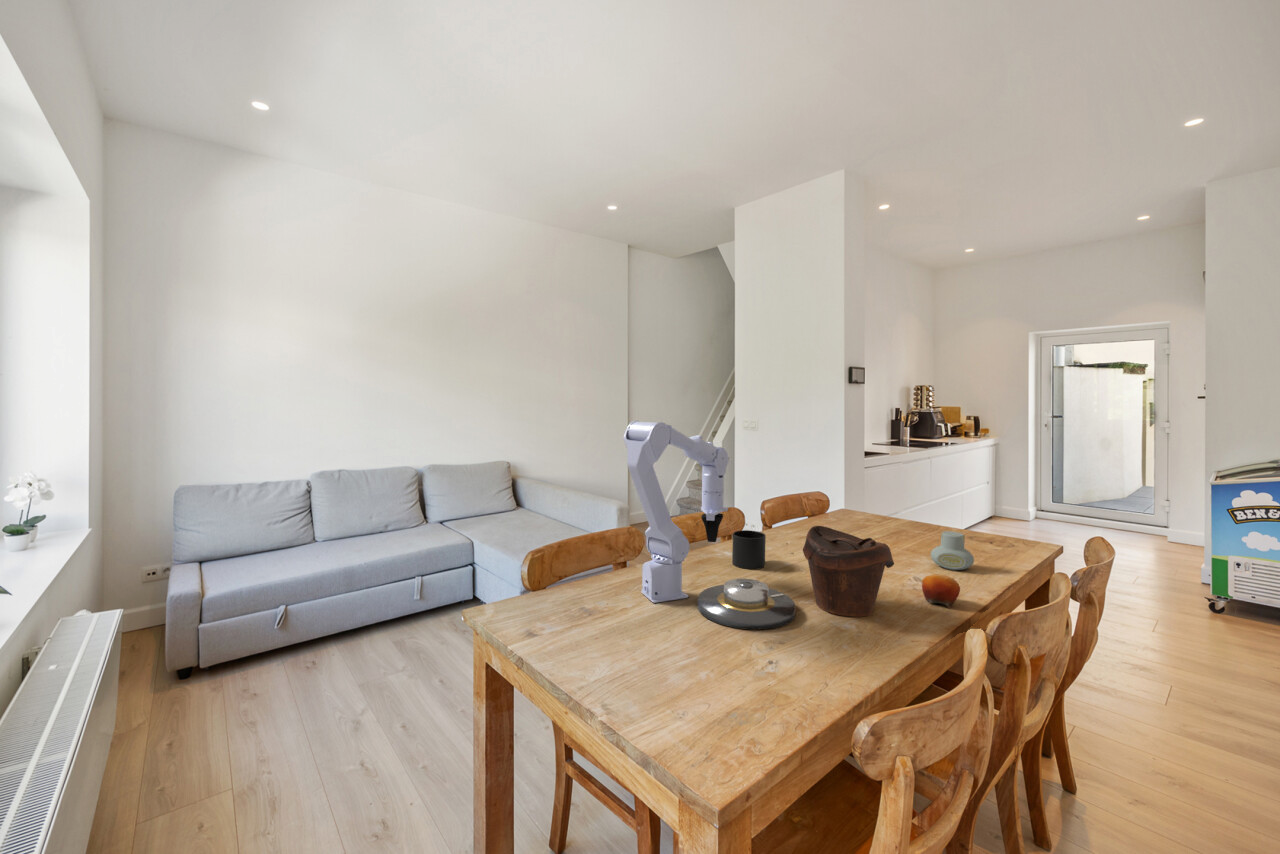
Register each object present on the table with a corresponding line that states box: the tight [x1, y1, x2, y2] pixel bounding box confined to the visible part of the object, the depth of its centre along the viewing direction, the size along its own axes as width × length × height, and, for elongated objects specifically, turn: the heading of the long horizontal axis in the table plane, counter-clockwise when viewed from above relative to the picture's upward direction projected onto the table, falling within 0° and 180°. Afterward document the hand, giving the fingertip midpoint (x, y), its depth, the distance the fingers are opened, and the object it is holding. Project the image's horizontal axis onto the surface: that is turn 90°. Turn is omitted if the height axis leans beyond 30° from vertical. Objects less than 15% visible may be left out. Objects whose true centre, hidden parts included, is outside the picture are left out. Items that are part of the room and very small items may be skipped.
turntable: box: [697, 584, 796, 630], centre depth 125 cm, size 22×22×2 cm
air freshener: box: [930, 530, 975, 571], centre depth 157 cm, size 11×8×10 cm
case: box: [802, 525, 895, 618], centre depth 126 cm, size 18×20×18 cm
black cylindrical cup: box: [731, 529, 767, 570], centre depth 159 cm, size 9×12×9 cm
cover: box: [723, 578, 769, 610], centre depth 124 cm, size 10×10×4 cm
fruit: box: [921, 573, 961, 609], centre depth 130 cm, size 8×8×8 cm
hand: (712, 541), depth 145 cm, fingers closed
